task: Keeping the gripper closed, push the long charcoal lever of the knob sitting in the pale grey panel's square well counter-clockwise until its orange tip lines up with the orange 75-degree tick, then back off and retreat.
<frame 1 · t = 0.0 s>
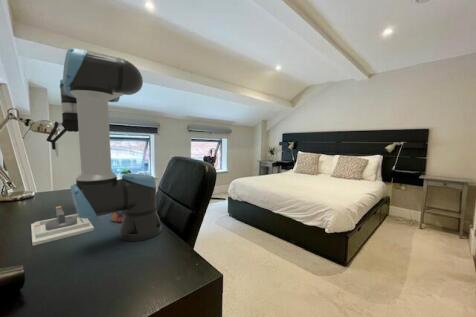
hand: (74, 155, 108), 28 cm above the table, fingers open, 13 cm apart
mug: (124, 219, 99), on the table
dial: (60, 217, 90), point 4 cm above the table, hinge at 0.0°
panel: (62, 228, 88), on the table
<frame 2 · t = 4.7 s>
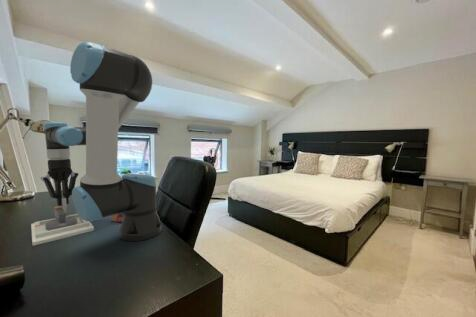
hand: (63, 212, 94), 5 cm above the table, fingers closed
dial: (60, 217, 90), point 4 cm above the table, hinge at 2.7°, touching gripper
everything else where it was.
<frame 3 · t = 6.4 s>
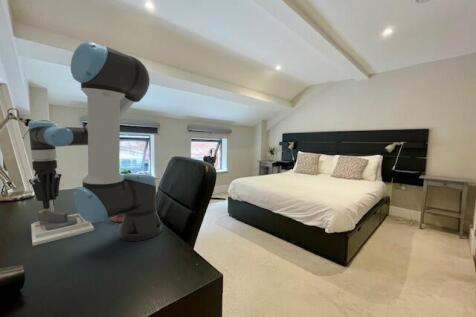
hand: (49, 215, 91), 4 cm above the table, fingers closed
dial: (56, 218, 88), point 4 cm above the table, hinge at 36.4°, touching gripper
everything else where it was.
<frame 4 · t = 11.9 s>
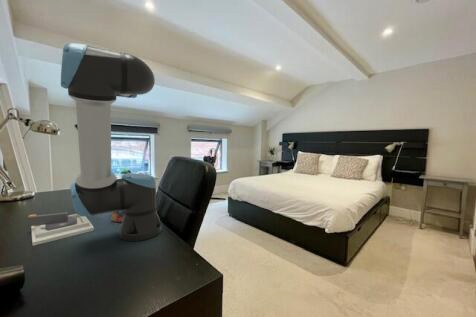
hand: (93, 160, 102), 26 cm above the table, fingers closed
dial: (53, 219, 87), point 4 cm above the table, hinge at 69.1°
everything else where it was.
at the end: dial at +69° (first picture: +0°) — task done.
